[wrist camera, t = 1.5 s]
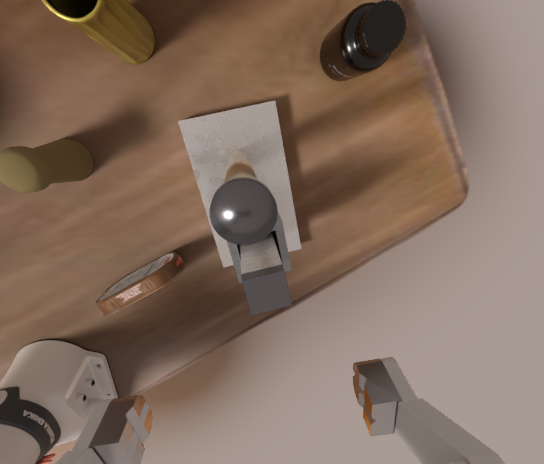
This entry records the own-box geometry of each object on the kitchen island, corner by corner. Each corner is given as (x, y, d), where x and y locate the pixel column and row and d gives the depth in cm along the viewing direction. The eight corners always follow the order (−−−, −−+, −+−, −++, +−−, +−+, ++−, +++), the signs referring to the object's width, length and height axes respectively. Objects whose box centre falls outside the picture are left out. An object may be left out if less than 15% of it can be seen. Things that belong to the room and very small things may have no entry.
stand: (298, 244, 49) (372, 382, 23) (224, 262, 48) (209, 425, 22) (273, 101, 40) (347, 52, 13) (180, 121, 39) (66, 111, 13)
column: (269, 231, 45) (292, 305, 26) (244, 236, 45) (250, 316, 26) (263, 207, 43) (285, 269, 24) (238, 213, 43) (240, 280, 24)
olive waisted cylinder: (90, 141, 39) (39, 146, 29) (96, 182, 41) (50, 201, 31) (44, 136, 38) (-27, 140, 28) (52, 179, 40) (-11, 197, 30)
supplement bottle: (321, 86, 40) (354, 70, 29) (316, 31, 37) (349, -9, 26) (365, 77, 40) (414, 59, 29) (363, 23, 38) (416, -20, 27)
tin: (119, 294, 48) (96, 327, 41) (106, 282, 47) (81, 313, 39) (190, 256, 47) (181, 281, 40) (180, 242, 46) (169, 265, 38)
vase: (105, 1, 33) (20, -81, 20) (157, 17, 35) (108, -50, 21) (104, 56, 35) (26, 14, 22) (153, 69, 37) (106, 38, 23)
